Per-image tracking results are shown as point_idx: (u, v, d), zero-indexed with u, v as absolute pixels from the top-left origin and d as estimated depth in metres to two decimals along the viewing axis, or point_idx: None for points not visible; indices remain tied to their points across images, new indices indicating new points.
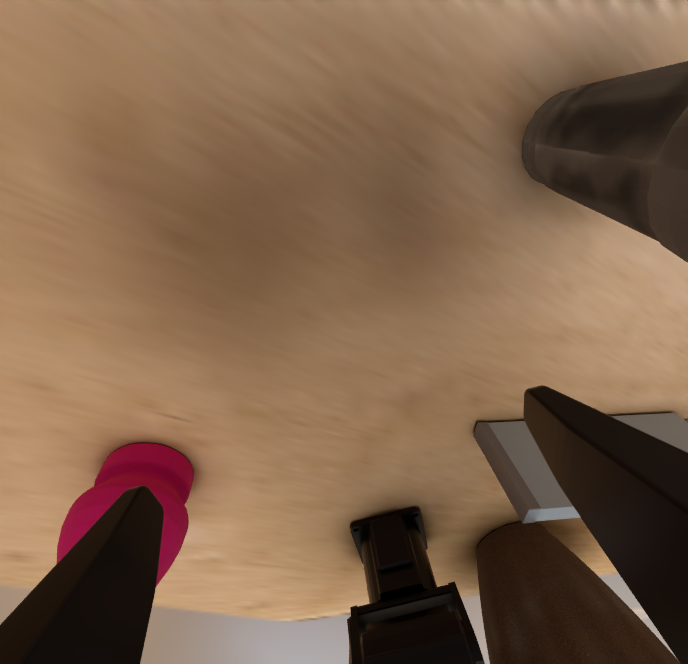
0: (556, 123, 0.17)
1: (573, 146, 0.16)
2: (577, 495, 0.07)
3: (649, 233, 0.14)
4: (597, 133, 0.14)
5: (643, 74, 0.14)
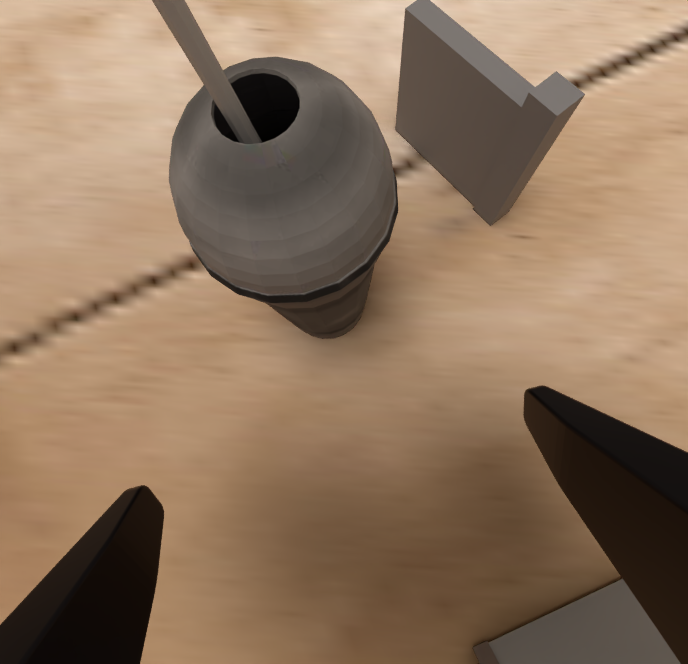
0: None
1: None
2: (577, 495, 0.07)
3: (287, 308, 0.15)
4: None
5: None
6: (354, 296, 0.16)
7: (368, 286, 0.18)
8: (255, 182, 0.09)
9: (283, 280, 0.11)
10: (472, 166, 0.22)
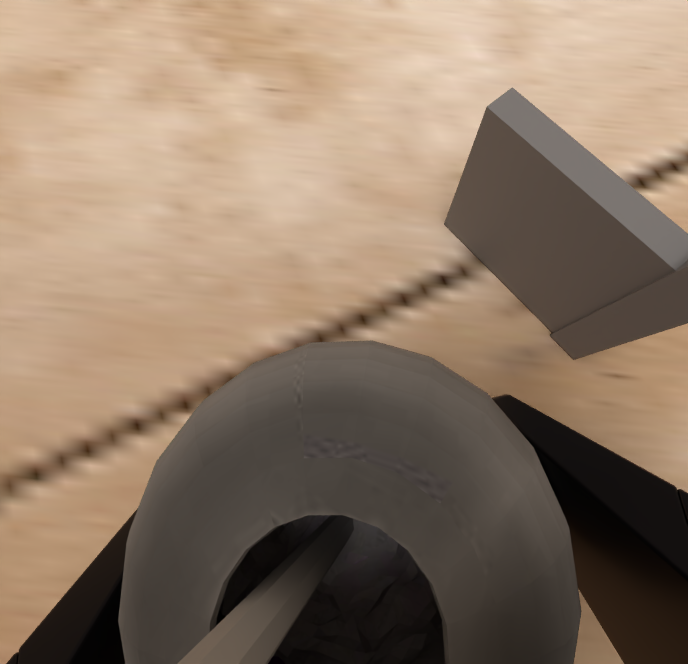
0: None
1: None
2: None
3: None
4: None
5: None
6: None
7: None
8: None
9: None
10: (559, 296, 0.17)
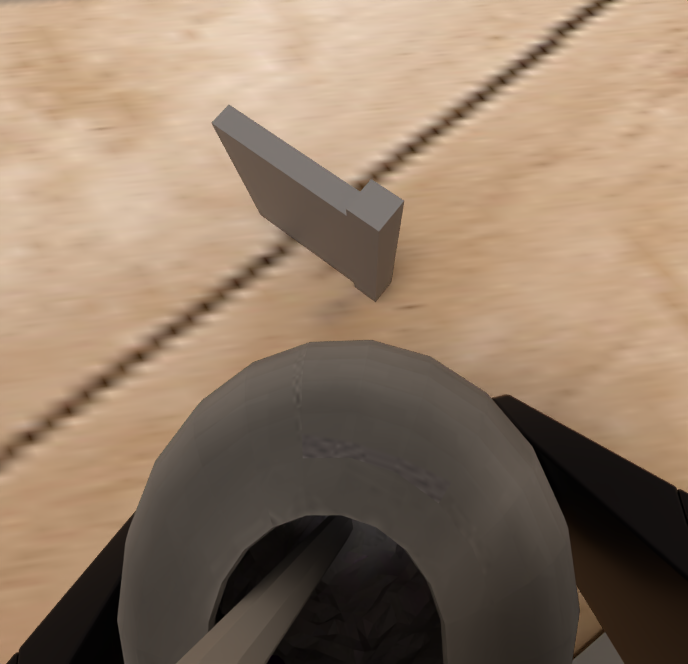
0: None
1: None
2: None
3: None
4: None
5: None
6: None
7: None
8: None
9: None
10: (336, 253, 0.21)
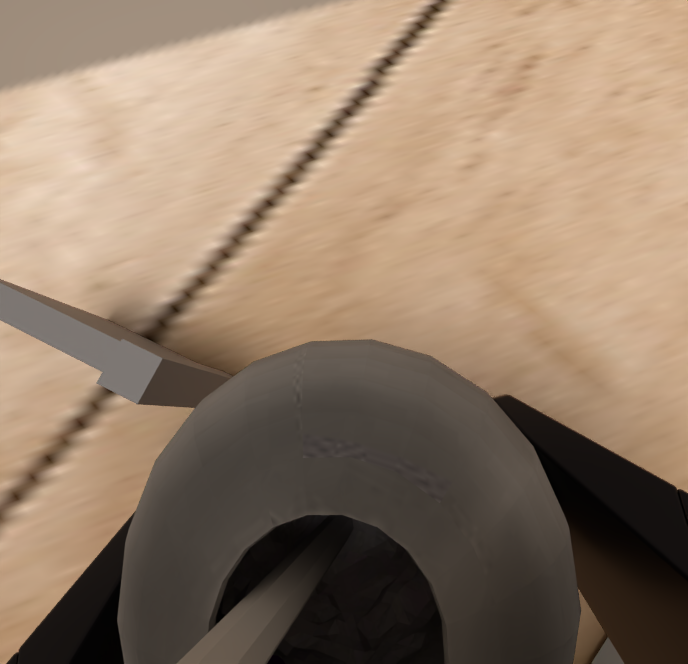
0: None
1: None
2: None
3: None
4: None
5: None
6: None
7: None
8: None
9: None
10: None
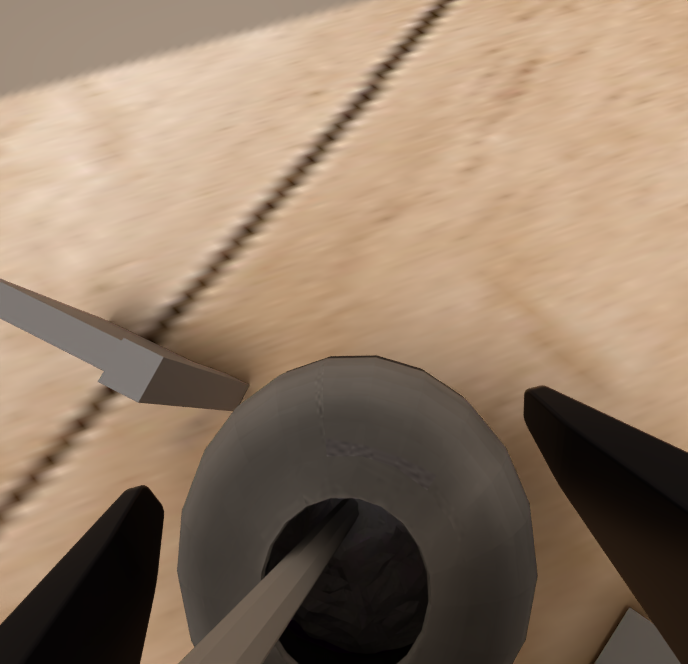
0: None
1: None
2: (577, 495, 0.07)
3: None
4: None
5: None
6: None
7: None
8: None
9: None
10: None
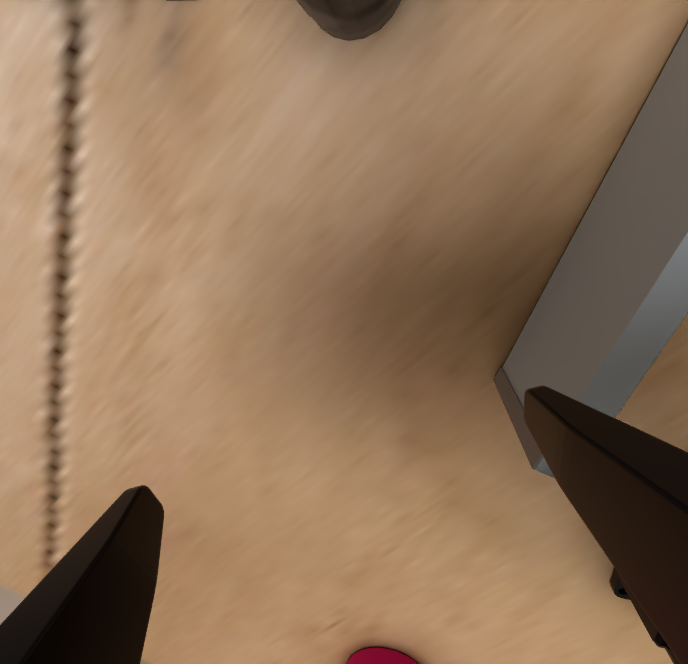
0: None
1: None
2: (577, 495, 0.07)
3: None
4: None
5: None
6: None
7: None
8: None
9: None
10: None
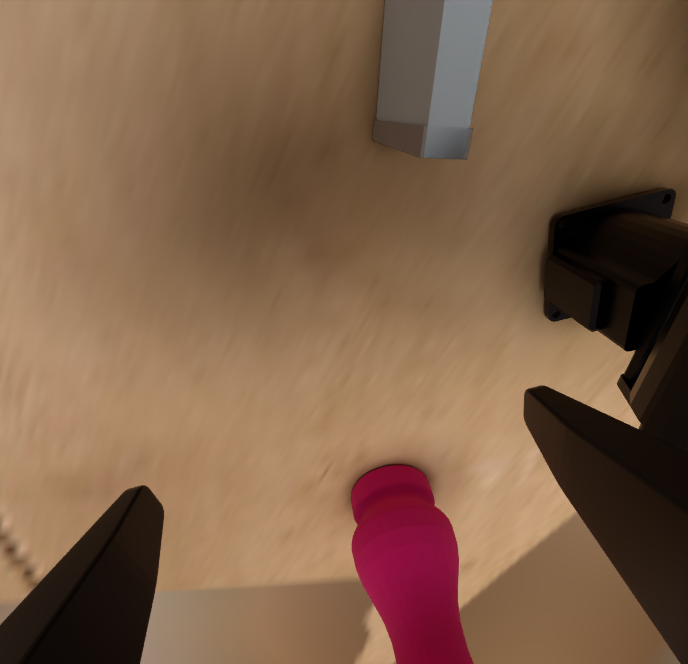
0: None
1: None
2: (577, 495, 0.07)
3: None
4: None
5: None
6: None
7: None
8: None
9: None
10: None
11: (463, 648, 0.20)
